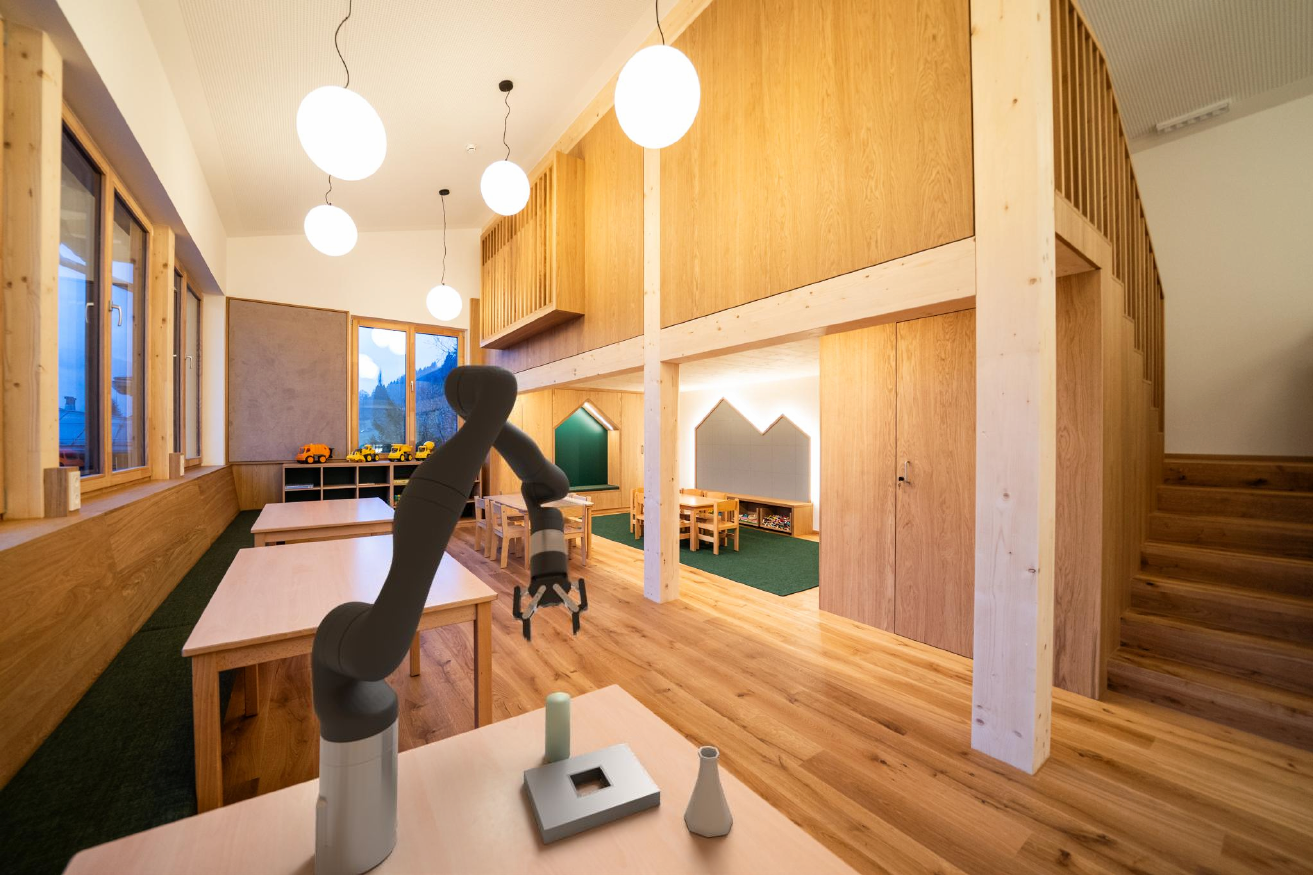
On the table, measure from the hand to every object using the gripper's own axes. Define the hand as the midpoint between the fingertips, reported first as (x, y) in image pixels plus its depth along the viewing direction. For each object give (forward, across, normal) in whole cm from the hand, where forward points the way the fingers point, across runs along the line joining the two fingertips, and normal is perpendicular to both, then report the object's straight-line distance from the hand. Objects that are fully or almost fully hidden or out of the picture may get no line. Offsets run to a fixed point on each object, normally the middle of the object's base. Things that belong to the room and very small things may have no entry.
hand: (552, 637), depth 94 cm
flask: (+31, +22, -8) cm, 39 cm away
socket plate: (+25, +5, -2) cm, 26 cm away
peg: (+18, 0, +7) cm, 20 cm away
